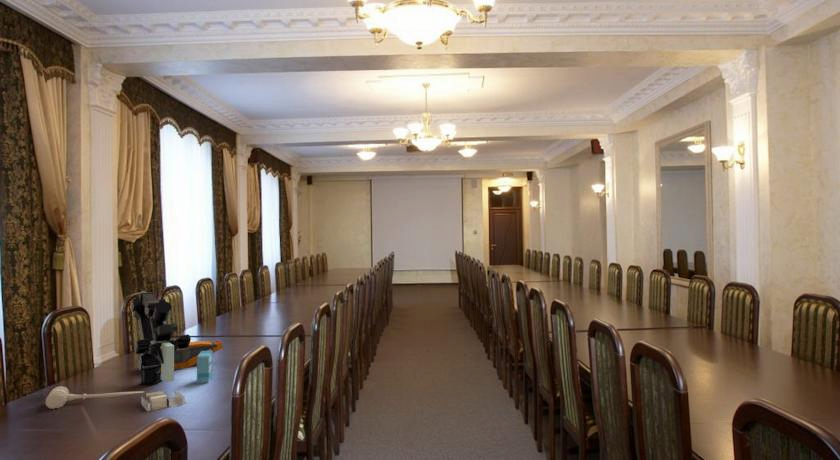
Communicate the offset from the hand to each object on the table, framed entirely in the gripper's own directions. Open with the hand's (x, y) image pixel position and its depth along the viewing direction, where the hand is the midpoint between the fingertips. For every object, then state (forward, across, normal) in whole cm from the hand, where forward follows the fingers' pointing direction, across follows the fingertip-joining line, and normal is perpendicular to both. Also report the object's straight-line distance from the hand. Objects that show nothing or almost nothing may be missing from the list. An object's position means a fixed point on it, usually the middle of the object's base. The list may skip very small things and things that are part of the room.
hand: (167, 362), depth 194 cm
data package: (-1, +18, +20) cm, 27 cm away
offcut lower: (+15, -6, +3) cm, 16 cm away
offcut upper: (+14, -6, +1) cm, 15 cm away
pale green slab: (+5, 0, +4) cm, 6 cm away
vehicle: (-25, +19, +45) cm, 55 cm away
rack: (+16, -3, +3) cm, 16 cm away
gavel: (0, -20, +20) cm, 28 cm away
